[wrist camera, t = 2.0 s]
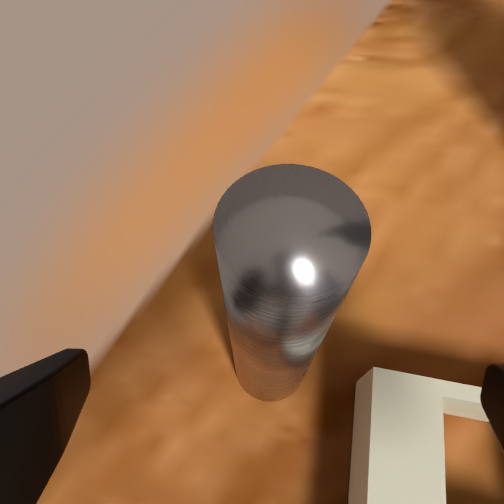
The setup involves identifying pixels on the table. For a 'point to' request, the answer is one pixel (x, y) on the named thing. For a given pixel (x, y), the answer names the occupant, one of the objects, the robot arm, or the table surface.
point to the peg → (285, 269)
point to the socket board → (404, 436)
